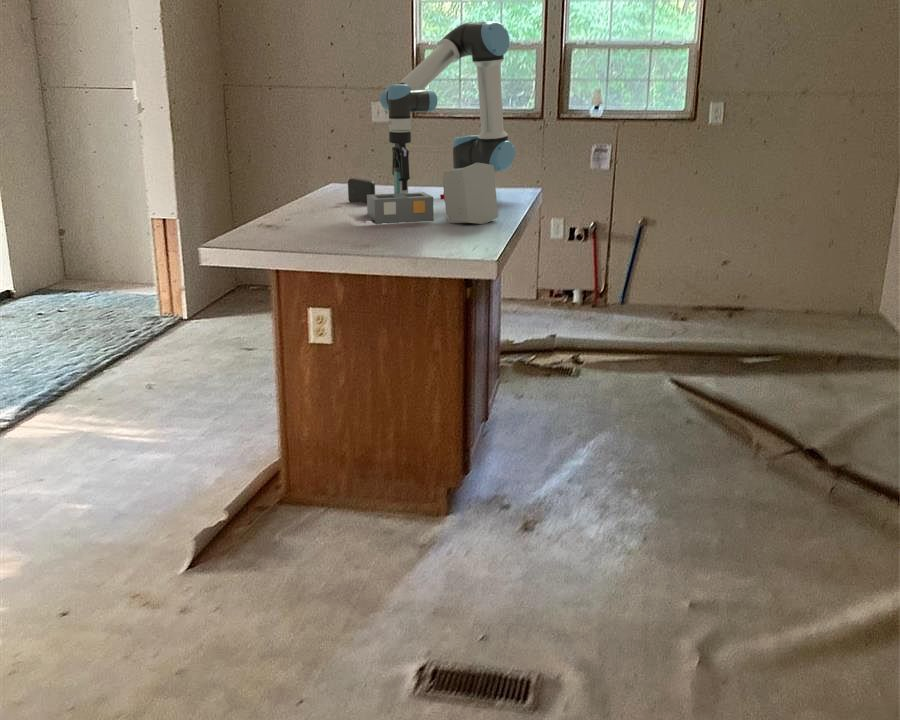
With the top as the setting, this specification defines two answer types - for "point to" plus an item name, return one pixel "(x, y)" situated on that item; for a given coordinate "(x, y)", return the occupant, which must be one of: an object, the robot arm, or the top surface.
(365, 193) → the dark grey curved block
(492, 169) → the electrical switch box
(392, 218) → the junction block
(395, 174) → the plug
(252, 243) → the top surface
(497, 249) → the top surface
